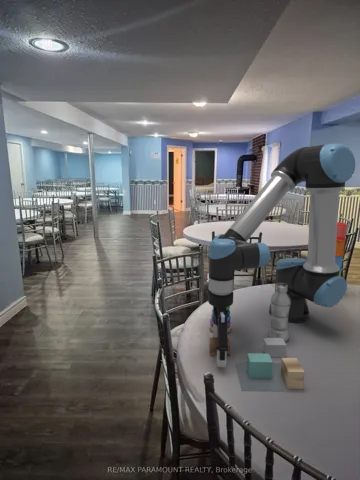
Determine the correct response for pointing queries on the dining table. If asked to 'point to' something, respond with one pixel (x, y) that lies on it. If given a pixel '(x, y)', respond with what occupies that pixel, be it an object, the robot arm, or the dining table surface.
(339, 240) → the stacking cups
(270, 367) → the teal block
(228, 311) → the stacking toy
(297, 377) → the oak block
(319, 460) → the dining table surface
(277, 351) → the grey block
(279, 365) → the slate board
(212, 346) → the walnut block
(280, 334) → the plastic bottle
